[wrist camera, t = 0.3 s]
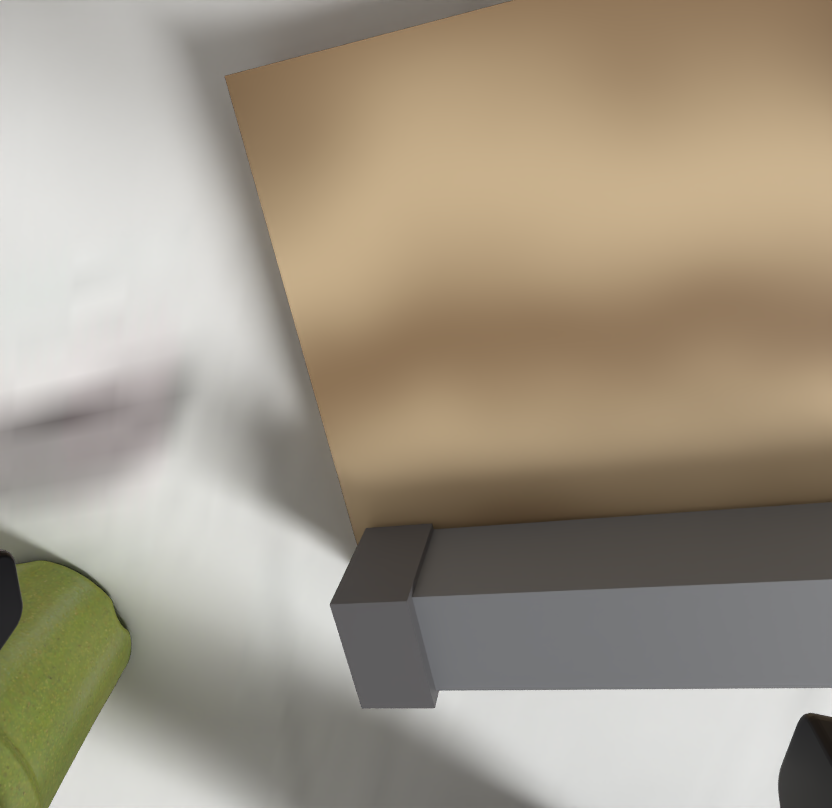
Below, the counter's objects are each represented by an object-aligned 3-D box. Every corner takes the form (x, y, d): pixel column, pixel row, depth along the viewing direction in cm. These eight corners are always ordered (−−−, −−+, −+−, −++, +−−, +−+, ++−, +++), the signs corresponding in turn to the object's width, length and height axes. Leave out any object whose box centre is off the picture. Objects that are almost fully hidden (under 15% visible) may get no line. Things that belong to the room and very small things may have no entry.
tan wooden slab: (1025, 555, 20) (1158, 696, 15) (394, 585, 24) (353, 699, 20) (1108, -144, 14) (1363, -250, 9) (258, 76, 19) (157, 75, 14)
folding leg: (967, 485, 17) (1058, 581, 14) (957, 602, 18) (1038, 715, 15) (365, 528, 21) (327, 609, 18) (391, 621, 22) (359, 714, 19)
